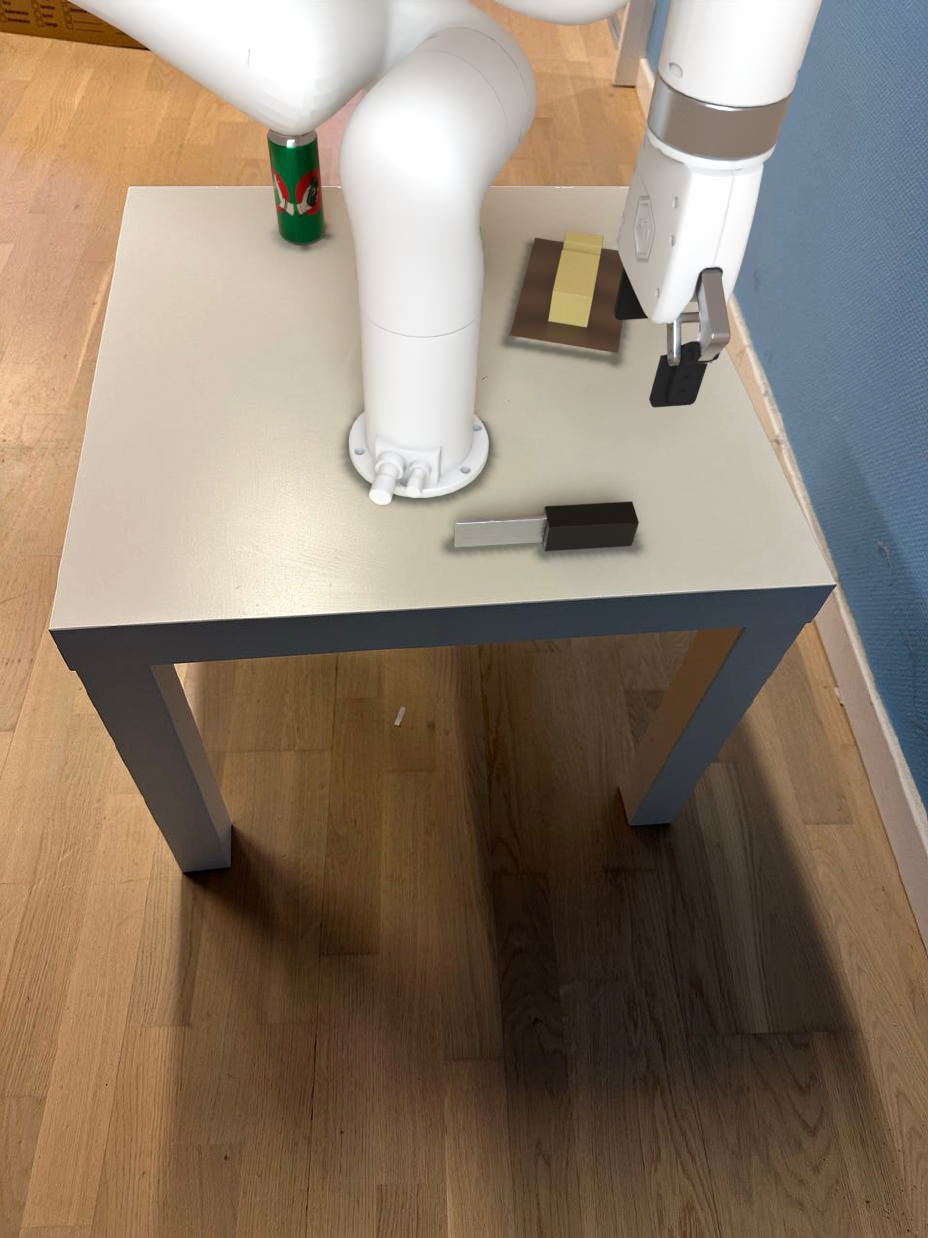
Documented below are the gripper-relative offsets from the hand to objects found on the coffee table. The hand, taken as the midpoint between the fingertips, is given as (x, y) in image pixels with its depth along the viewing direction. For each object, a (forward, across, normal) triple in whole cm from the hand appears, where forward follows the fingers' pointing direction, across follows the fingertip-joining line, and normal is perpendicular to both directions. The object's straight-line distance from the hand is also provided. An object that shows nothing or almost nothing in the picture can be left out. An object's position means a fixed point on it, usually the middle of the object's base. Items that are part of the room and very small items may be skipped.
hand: (651, 358), depth 65 cm
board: (+16, -30, +3) cm, 34 cm away
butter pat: (+15, -34, +5) cm, 38 cm away
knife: (+16, +2, -7) cm, 18 cm away
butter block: (+15, -28, +3) cm, 32 cm away
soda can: (+16, -44, -24) cm, 53 cm away
